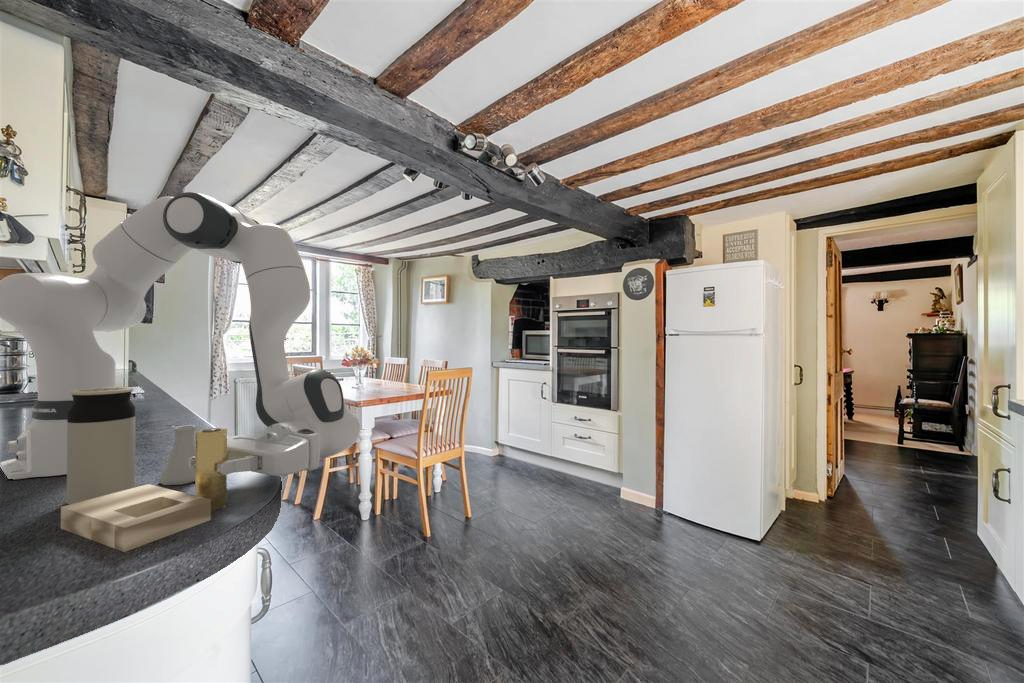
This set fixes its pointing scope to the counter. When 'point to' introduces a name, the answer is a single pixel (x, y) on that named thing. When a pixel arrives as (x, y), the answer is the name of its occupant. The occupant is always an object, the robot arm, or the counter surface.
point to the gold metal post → (211, 466)
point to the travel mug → (100, 443)
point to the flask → (180, 458)
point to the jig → (135, 516)
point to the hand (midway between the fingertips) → (205, 466)
